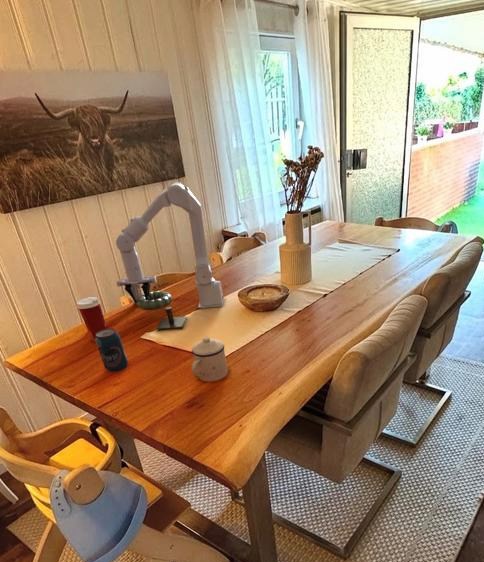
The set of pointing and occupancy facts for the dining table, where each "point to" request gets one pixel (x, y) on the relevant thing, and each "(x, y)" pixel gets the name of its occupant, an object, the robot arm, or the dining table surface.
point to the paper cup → (92, 315)
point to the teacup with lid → (209, 360)
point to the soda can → (111, 350)
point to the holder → (171, 321)
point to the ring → (154, 300)
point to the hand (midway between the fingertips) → (142, 302)
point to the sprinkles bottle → (138, 290)
